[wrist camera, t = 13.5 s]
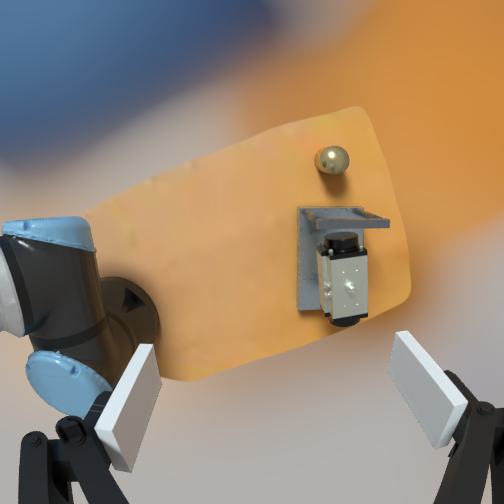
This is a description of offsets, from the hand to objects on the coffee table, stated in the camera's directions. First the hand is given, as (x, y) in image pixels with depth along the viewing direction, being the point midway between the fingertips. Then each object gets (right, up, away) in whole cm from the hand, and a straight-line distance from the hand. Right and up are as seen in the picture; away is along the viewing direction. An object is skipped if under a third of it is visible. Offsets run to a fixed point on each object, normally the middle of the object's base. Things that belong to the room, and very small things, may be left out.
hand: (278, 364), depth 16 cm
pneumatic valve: (+10, +4, +32) cm, 34 cm away
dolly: (+11, +5, +35) cm, 37 cm away
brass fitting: (+10, +20, +31) cm, 38 cm away
